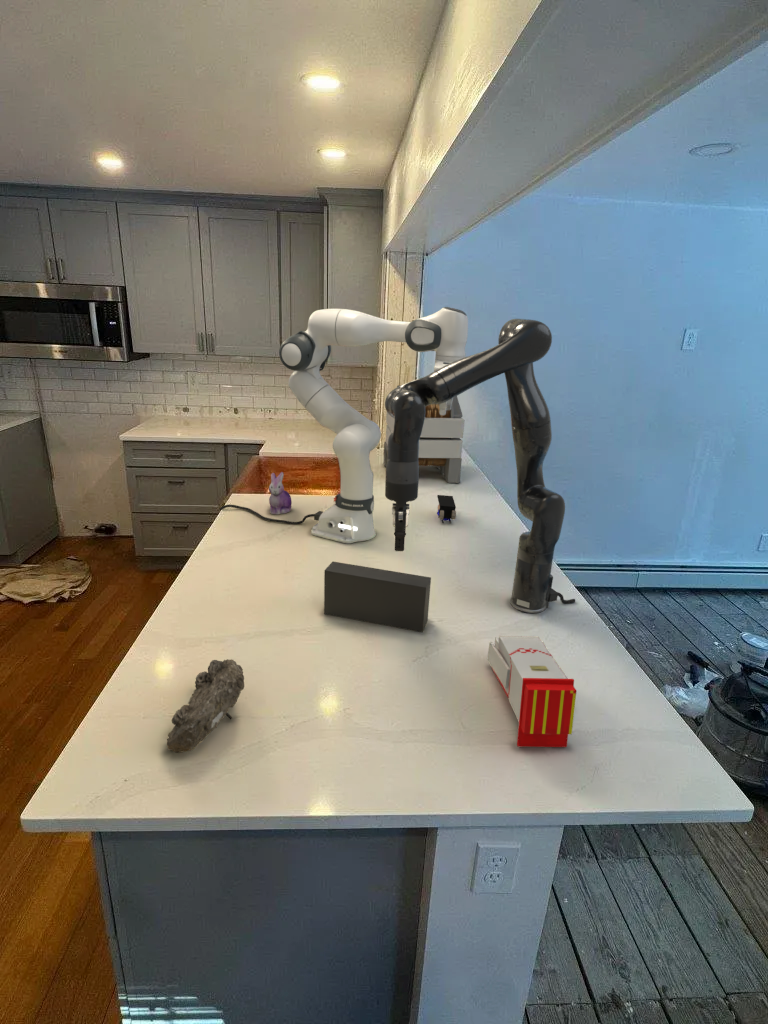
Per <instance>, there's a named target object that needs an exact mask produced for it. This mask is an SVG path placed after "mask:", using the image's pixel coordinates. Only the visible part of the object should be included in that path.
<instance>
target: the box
mask: <svg viewBox="0 0 768 1024" xmlns="http://www.w3.org/2000/svg"><path fill="white" fill-rule="evenodd" d="M323 573H324V576H323V577H324V578H323V579H324V581H323V582H324V583H323V594H324V595H323V614H324V615H327V616H328V615H329V616H334V617H339V618H342V619H343V618H344V619H349V620H354V621H360V622H366V623H370V624H374V625H375V624H376V625H382V626H386V627H391V628H397V629H403V630H408V631H412V632H413V631H414V632H417V633H418V632H419V633H424V631H425V629H426V626H427V623H428V622H429V621H428V620H429V609H430V608H429V607H430V596H431V595H430V594H431V584H432V582H431V581H432V577H430V576H426V575H425V576H424V575H420V574H419V575H418V574H412V573H406V572H400V571H393V570H388V569H381V568H375V567H369V566H363V565H357V564H352V563H351V564H350V563H345V562H340V561H332V562H330V564H328V566H327V567H326V568H325V569H324V572H323Z"/></svg>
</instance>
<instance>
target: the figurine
mask: <svg viewBox="0 0 768 1024" xmlns="http://www.w3.org/2000/svg"><path fill="white" fill-rule="evenodd" d="M284 476H285V475H284V472H283V471H281V472H280V473H279V474H278V475H276V474H275V473H274V472H272V473H271V474H270V484H269V486H268V492H269V493H270V495H269V498H268V504H269V507H270V508H269V513H270V514H271V515H281V514H286V513H289V512H291V510H292V503H293V501H292V496H291V494H290V493H289V492H288V491H287V490H285V487H284V484H283V479H284Z"/></svg>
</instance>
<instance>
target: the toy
mask: <svg viewBox="0 0 768 1024" xmlns="http://www.w3.org/2000/svg"><path fill="white" fill-rule="evenodd" d="M488 643H489V644H488V651H487V658H486V659H487V662H488V664H489V666H490V668H491V669H492V672H493V674H494V675H495V677H496V679H497V681H498V682H499V684H500V687H501V688H502V691H503V692H504V694H505V697H507V699H508V702H509V705H510V706H511V709H512V710H513V713H514V714H515V717H516V720H517V721H518V728H517V729H518V730H517V741H516V746H517V747H520V748H521V747H522V748H523V747H525V748H527V747H529V748H531V747H532V748H533V747H534V748H545V747H546V748H567V747H568V740H569V735H572V733H573V725H574V716H575V708H576V700H577V689H576V687H575V686H574V685H575V679H574V678H569V677H568V676H567V675H566V673H565V672H564V670H563V669H562V668H561V667H560V665H559V663H558V662H557V661H556V659H555V658H554V656H553V654H552V653H551V652H550V650H549V649H548V648H547V646H546V644H545V642H544V641H543V640H542V639H541V638H540V636H534V635H533V636H532V635H530V636H527V635H526V636H525V635H524V636H523V635H498V637H497V636H496V637H494V643H493V641H489V642H488Z"/></svg>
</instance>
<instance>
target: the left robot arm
mask: <svg viewBox="0 0 768 1024" xmlns="http://www.w3.org/2000/svg"><path fill="white" fill-rule="evenodd" d="M468 337H469V318H468V315H467V313H466V312H465V311H464V310H461V309H458V308H454V307H450V306H444V307H442V308H440V309H439V310H437V311H436V312H434V313H432V314H429V315H426V316H423V317H419V318H416V319H414V320H412V321H402V320H392V319H391V320H390V319H385V318H381V317H379V316H375V315H371V314H368V313H365V312H362V311H358V310H355V309H349V308H348V309H347V308H324V309H316V310H315V311H313V312H311V314H310V315H309V318H308V321H307V328H306V330H305V331H304V330H299V331H297V332H296V333H294V334H292V335H290V336H288V337H287V338H286V339H284V341H282V343H281V344H280V346H279V348H278V357H279V359H280V360H279V361H280V362H281V363H282V365H283V366H284V367H285V368H287V369H288V370H290V371H292V373H291V374H290V376H289V378H288V381H287V382H288V387H289V389H290V390H291V393H292V394H293V395H294V397H295V399H297V401H298V402H299V403H300V405H302V407H303V408H304V409H305V410H306V411H307V412H308V413H309V414H310V415H311V416H312V417H313V418H314V419H315V421H317V423H319V425H321V426H322V427H323V428H327V429H328V430H330V431H332V432H333V433H334V434H336V435H335V436H334V439H333V441H332V449H333V452H334V454H335V456H336V457H337V462H338V466H339V473H340V490H339V491H338V492H337V494H336V495H335V496H334V497H333V502H334V504H333V505H331V506H329V507H328V508H326V509H325V510H318V511H317V512H315V513H309V514H307V515H304V517H303V518H302V520H299V521H289V520H285V519H275V518H269V517H266V516H264V515H262V514H260V513H259V512H257V511H255V510H253V509H251V508H249V507H246V506H242V505H241V506H240V505H236V504H225V505H223V506H221V507H220V508H219V511H222V510H224V509H226V508H234V509H239V510H243V511H244V510H245V511H247V512H249V513H252V514H254V515H255V516H257V517H258V518H259V519H262V520H263V521H268V522H271V523H281V524H287V525H302V524H303V523H305V522H306V520H307V519H308V518H313V520H314V521H316V522H317V523H315V524H314V525H313V526H312V528H311V530H310V533H311V536H315V537H319V538H323V539H326V540H330V541H336V542H339V543H343V544H352V543H357V542H365V541H368V540H372V539H373V538H375V537H376V535H377V532H376V528H375V523H374V513H373V512H374V509H375V496H374V472H373V470H372V466H371V460H370V454H371V452H372V451H373V450H375V449H376V448H377V446H378V445H379V443H380V441H381V439H382V431H381V428H380V426H379V425H378V424H377V422H375V421H373V420H371V419H369V418H367V417H366V416H364V415H363V414H362V412H361V413H360V411H358V410H357V409H355V408H354V407H353V406H351V405H350V404H349V403H348V402H347V401H346V400H345V399H343V397H342V396H341V395H340V394H338V392H337V391H336V390H335V389H334V388H333V387H332V386H331V385H330V384H329V383H328V382H327V381H326V380H325V378H323V377H322V375H321V372H322V371H323V370H324V369H325V367H326V364H327V361H329V358H330V355H331V354H332V346H336V347H346V348H347V347H348V348H353V347H362V346H367V345H372V344H377V343H382V342H395V343H405V344H406V345H407V346H408V348H410V349H411V350H412V351H415V352H417V353H426V352H435V358H434V366H433V372H434V371H436V370H438V369H440V368H442V367H444V366H446V365H448V364H450V363H452V362H454V361H456V360H459V359H462V358H465V357H467V356H466V345H467V343H468ZM452 401H453V398H452V399H450V400H448V401H446V402H444V403H442V404H439V407H440V412H439V414H440V415H445V414H446V410H451V405H452Z"/></svg>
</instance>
